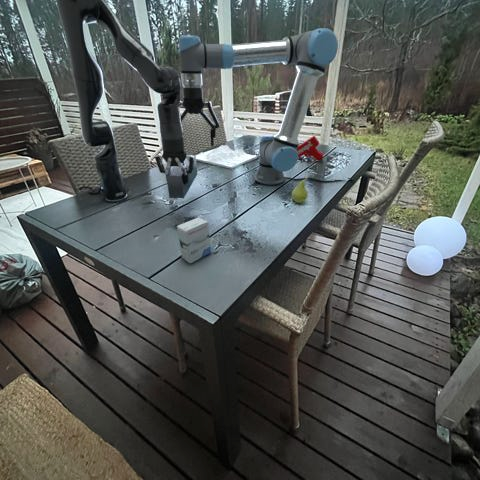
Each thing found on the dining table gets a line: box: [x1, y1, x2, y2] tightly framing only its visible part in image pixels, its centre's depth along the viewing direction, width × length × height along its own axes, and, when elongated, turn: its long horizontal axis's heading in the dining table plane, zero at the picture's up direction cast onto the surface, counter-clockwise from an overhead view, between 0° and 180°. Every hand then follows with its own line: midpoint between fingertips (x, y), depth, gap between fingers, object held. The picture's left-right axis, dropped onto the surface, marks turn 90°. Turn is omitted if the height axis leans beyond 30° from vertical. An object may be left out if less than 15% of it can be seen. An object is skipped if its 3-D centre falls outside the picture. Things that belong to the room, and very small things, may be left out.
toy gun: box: [297, 135, 324, 163], centre depth 172 cm, size 18×4×15 cm
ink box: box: [176, 216, 212, 264], centre depth 84 cm, size 8×5×12 cm, turn 135°
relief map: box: [195, 144, 258, 170], centre depth 177 cm, size 27×35×5 cm
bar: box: [165, 154, 198, 199], centre depth 109 cm, size 26×5×8 cm, turn 177°
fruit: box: [291, 174, 311, 204], centre depth 118 cm, size 7×8×12 cm
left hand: (178, 183), depth 101 cm, fingers closed on bar, 5 cm apart
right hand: (196, 145), depth 114 cm, fingers open, 13 cm apart
